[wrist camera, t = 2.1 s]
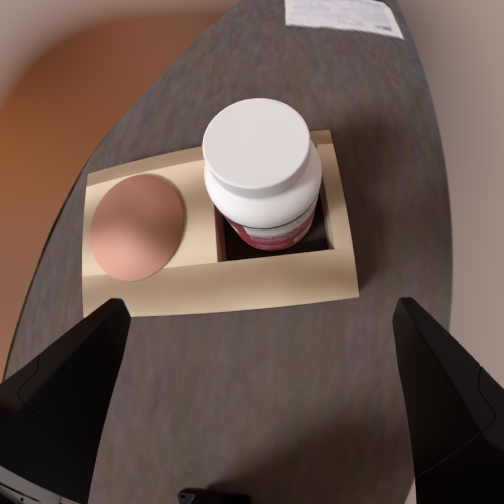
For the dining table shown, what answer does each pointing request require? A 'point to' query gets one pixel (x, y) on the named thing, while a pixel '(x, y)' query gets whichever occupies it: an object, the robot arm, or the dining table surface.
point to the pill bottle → (262, 172)
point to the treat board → (199, 243)
